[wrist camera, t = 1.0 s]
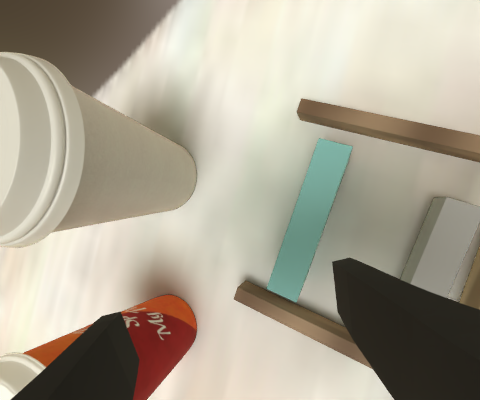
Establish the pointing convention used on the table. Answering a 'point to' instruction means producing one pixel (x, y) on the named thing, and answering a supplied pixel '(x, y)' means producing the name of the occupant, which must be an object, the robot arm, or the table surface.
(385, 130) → the frame
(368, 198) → the table surface
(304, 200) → the long teal post
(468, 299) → the plywood offcut
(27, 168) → the coffee cup
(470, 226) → the grey board offcut
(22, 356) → the paper cup
